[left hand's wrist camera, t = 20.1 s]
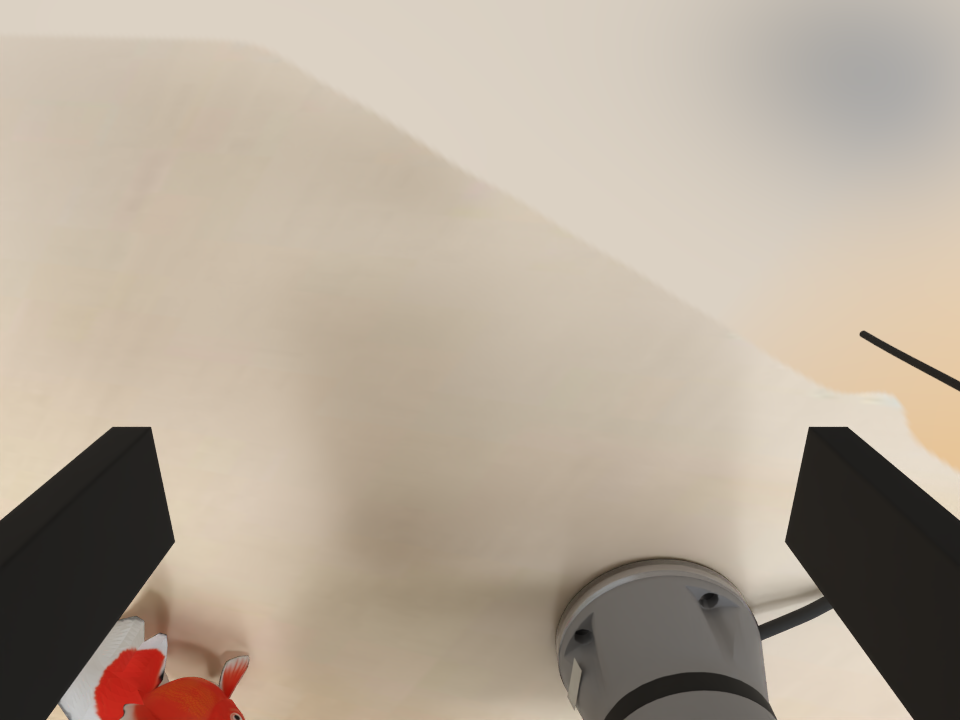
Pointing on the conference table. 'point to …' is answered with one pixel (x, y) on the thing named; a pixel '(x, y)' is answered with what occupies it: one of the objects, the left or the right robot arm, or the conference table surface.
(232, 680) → the fish
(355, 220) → the conference table surface
